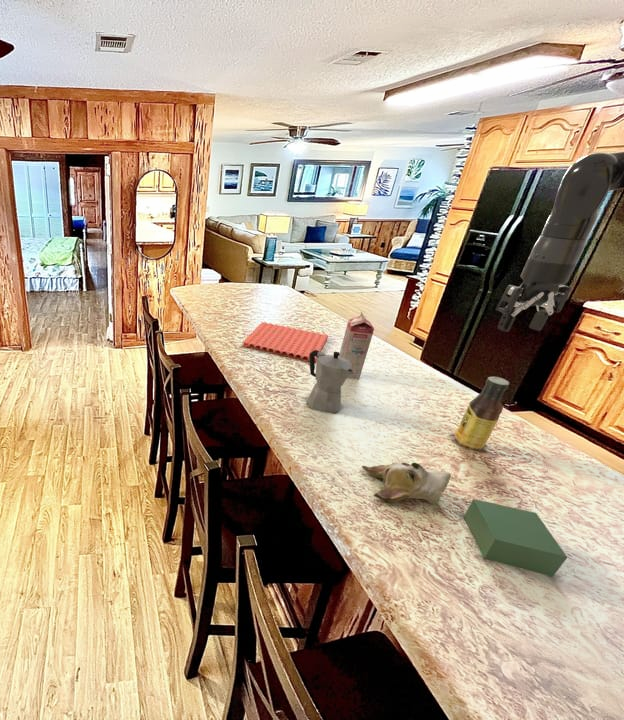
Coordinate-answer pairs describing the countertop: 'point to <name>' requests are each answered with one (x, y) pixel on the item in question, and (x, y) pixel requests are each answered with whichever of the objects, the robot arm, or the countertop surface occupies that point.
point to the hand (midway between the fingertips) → (518, 329)
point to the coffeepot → (328, 380)
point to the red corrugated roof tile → (285, 341)
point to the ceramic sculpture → (409, 482)
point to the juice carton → (356, 343)
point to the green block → (514, 537)
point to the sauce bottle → (482, 415)
